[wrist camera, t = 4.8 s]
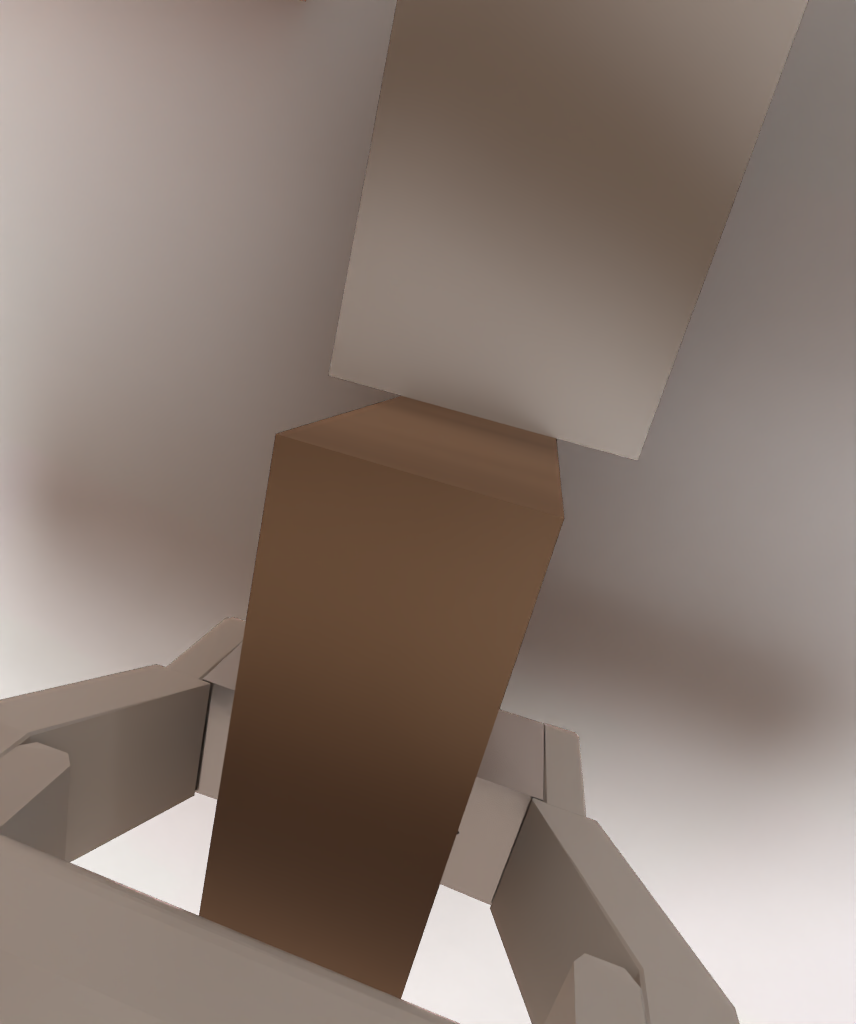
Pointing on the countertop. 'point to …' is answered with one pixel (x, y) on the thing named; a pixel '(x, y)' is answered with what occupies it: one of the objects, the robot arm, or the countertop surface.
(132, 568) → the countertop surface
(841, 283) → the countertop surface
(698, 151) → the turner
